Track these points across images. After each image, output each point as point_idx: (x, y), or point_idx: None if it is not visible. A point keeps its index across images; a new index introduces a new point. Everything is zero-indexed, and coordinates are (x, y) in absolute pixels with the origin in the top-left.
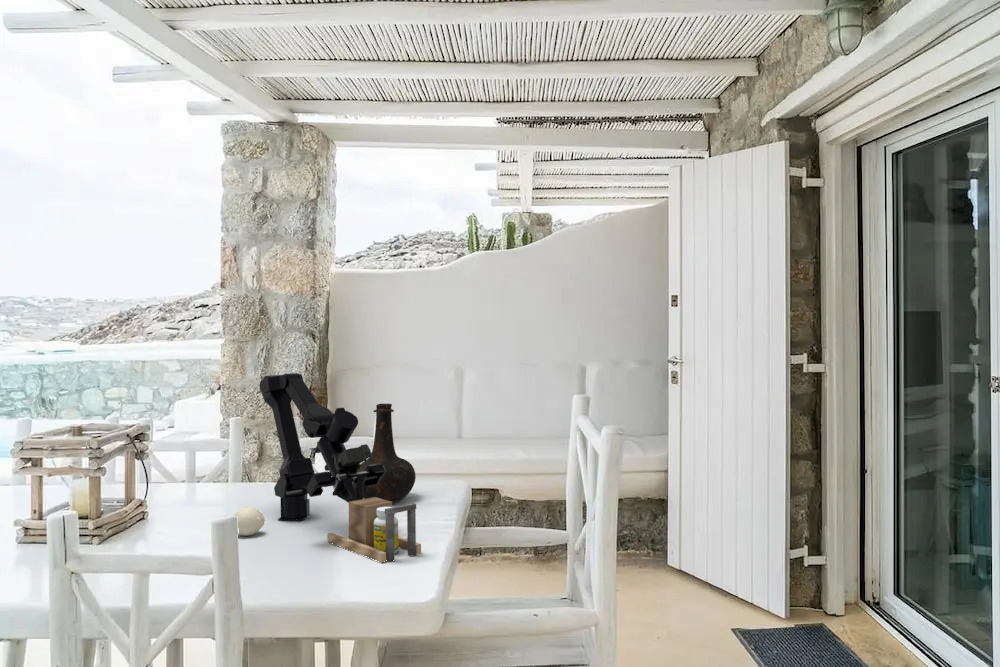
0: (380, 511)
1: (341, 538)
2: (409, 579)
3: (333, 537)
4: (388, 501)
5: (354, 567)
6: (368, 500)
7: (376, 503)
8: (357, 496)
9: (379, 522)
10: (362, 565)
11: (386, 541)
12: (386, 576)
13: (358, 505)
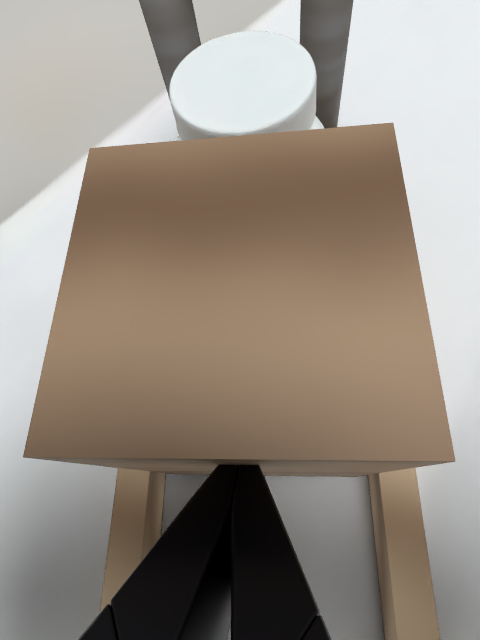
0: (308, 59)
1: (414, 493)
2: (367, 16)
3: (431, 610)
4: (98, 175)
5: (474, 183)
6: (204, 337)
7: (229, 174)
8: (199, 633)
9: (319, 121)
10: (434, 184)
11: (340, 98)
12: (414, 61)
13: (411, 236)
